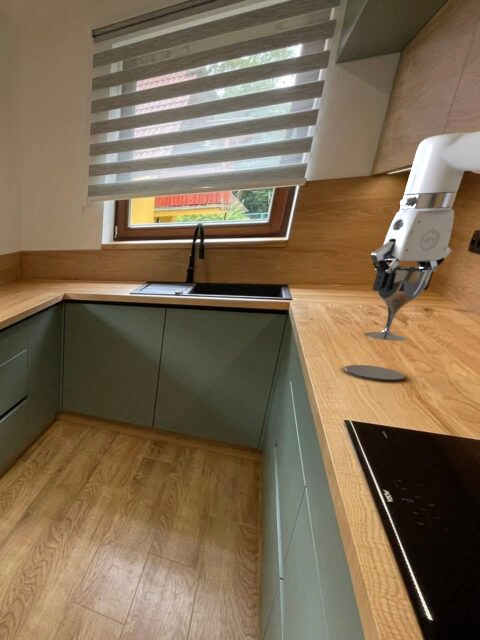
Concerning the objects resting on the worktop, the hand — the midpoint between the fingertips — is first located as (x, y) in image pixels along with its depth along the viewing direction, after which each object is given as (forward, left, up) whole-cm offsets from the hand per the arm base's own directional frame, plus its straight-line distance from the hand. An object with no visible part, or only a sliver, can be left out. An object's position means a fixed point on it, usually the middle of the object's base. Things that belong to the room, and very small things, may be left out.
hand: (399, 289), depth 93 cm
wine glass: (0, 0, -11) cm, 11 cm away
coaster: (0, 0, -19) cm, 19 cm away
